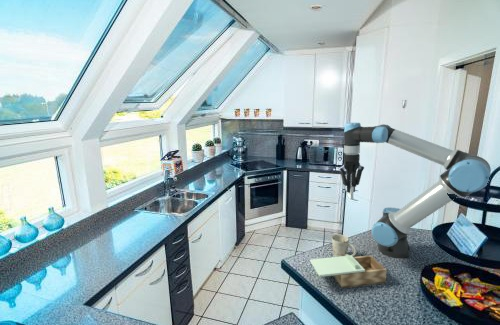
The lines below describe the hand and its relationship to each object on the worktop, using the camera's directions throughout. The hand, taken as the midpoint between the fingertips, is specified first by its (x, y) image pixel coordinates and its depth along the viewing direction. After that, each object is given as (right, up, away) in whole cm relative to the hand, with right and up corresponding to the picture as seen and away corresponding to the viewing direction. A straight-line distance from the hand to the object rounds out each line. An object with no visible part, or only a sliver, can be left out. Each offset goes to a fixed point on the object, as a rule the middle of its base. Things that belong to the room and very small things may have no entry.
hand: (350, 198), depth 137 cm
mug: (-4, -31, -1) cm, 31 cm away
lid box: (-4, -34, -18) cm, 38 cm away
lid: (-14, -28, -20) cm, 37 cm away
